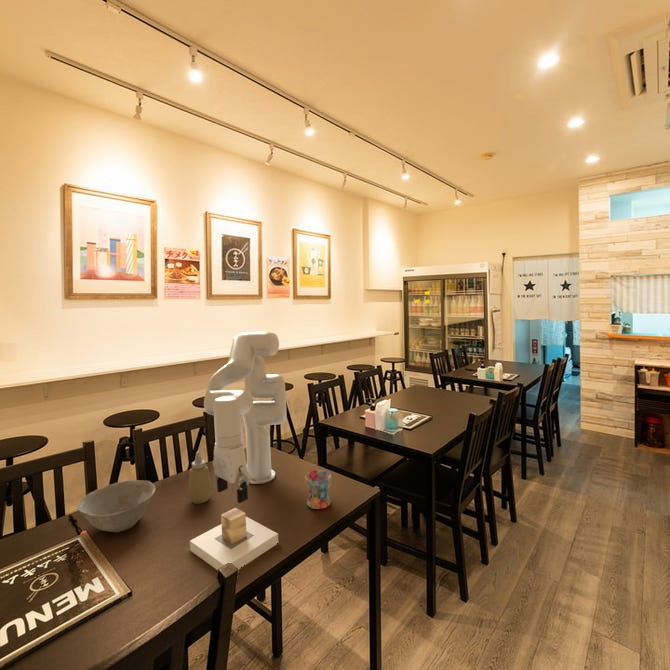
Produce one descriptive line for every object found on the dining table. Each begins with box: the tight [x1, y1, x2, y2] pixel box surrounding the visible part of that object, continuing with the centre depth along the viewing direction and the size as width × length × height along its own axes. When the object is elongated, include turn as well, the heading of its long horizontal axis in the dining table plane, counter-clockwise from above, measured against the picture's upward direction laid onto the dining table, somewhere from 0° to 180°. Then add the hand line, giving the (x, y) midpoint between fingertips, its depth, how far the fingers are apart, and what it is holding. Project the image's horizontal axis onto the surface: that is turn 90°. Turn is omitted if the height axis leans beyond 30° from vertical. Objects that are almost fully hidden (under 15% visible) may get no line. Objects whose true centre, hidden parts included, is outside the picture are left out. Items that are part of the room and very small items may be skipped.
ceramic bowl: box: [77, 479, 156, 533], centre depth 128 cm, size 22×23×10 cm
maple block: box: [220, 507, 247, 544], centre depth 115 cm, size 5×5×7 cm
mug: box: [304, 469, 335, 510], centre depth 138 cm, size 12×9×11 cm
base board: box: [189, 516, 279, 571], centre depth 115 cm, size 18×18×3 cm
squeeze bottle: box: [188, 451, 213, 505], centre depth 142 cm, size 8×8×18 cm
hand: (232, 495), depth 114 cm, fingers open, 9 cm apart
